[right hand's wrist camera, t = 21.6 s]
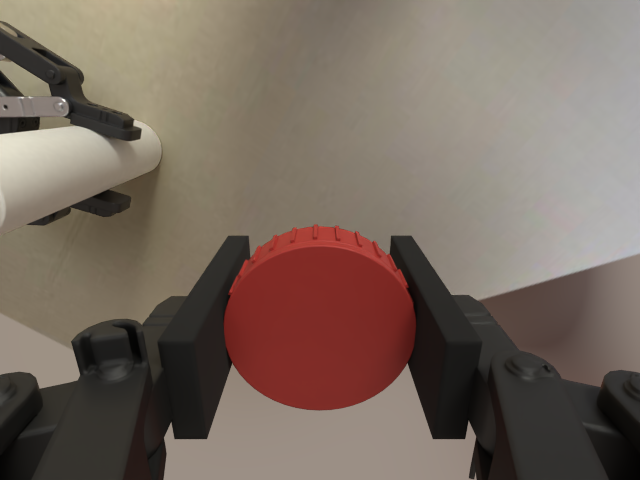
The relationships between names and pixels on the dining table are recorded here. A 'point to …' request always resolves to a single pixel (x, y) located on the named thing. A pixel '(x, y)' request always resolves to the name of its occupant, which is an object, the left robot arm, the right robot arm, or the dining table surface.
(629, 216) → the dining table surface
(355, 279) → the lid
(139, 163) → the bottle
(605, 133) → the dining table surface
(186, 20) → the dining table surface
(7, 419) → the right robot arm
